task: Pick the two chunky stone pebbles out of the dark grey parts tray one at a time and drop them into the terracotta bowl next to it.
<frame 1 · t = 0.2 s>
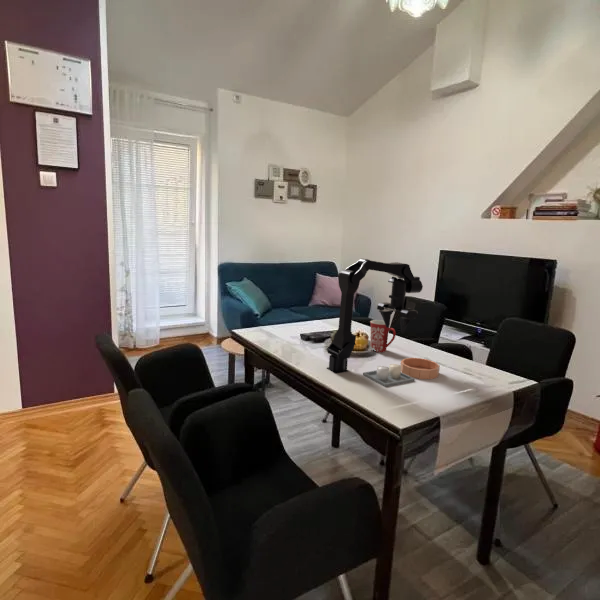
hand: (395, 330, 175), 14 cm above the table, tool pointing down, fingers open, 9 cm apart
pebble grey: (382, 379, 156), resting on parts tray
pebble sand: (394, 376, 159), resting on parts tray
parts tray: (388, 379, 158), on the table
bowl: (419, 373, 166), on the table
mug: (381, 351, 193), on the table
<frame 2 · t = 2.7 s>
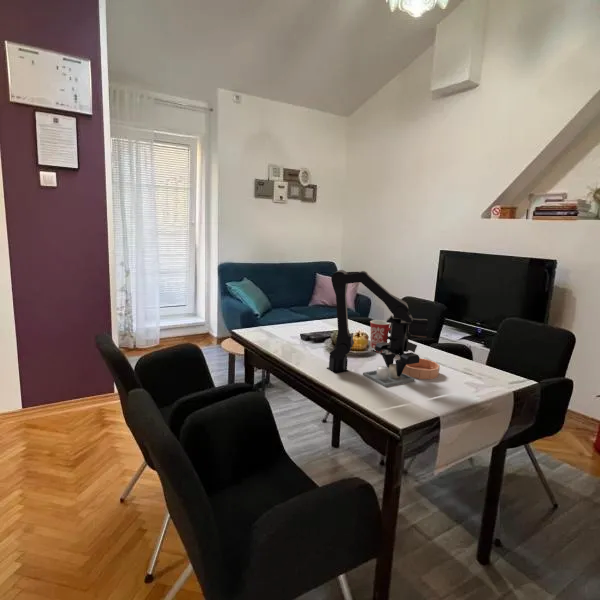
hand: (394, 374, 159), 2 cm above the table, tool pointing down, fingers closed on pebble sand, 4 cm apart
pebble sand: (394, 376, 159), point 1 cm above the table, touching gripper, parts tray
everything else where it was.
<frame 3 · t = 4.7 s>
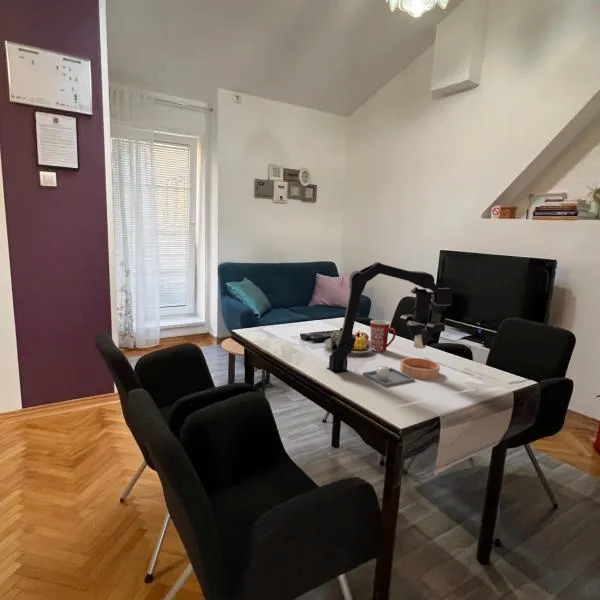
hand: (419, 344, 162), 12 cm above the table, tool pointing down, fingers closed on pebble sand, 4 cm apart
pebble sand: (419, 346, 163), point 11 cm above the table, touching gripper
everything else where it was.
when the fingers open (4 cm above the table, at t = 6.7 s): pebble sand drops 3 cm, resting on bowl.
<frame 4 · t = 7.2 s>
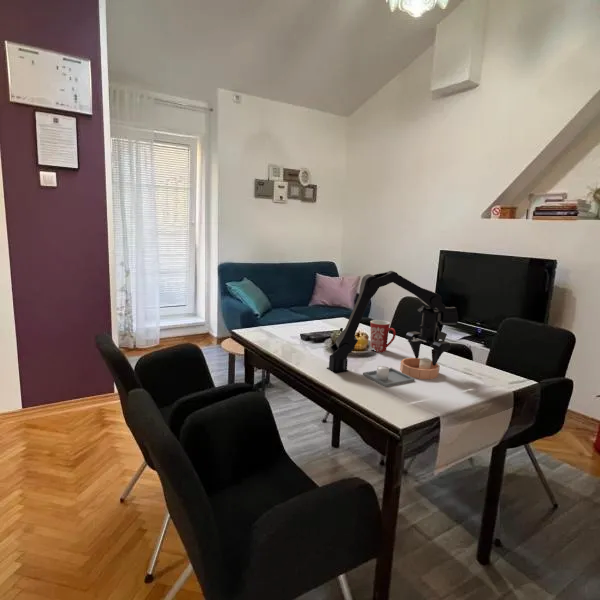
hand: (425, 361, 166), 4 cm above the table, tool pointing down, fingers open, 9 cm apart
pebble sand: (424, 370, 167), point 1 cm above the table, touching bowl
everything else where it was.
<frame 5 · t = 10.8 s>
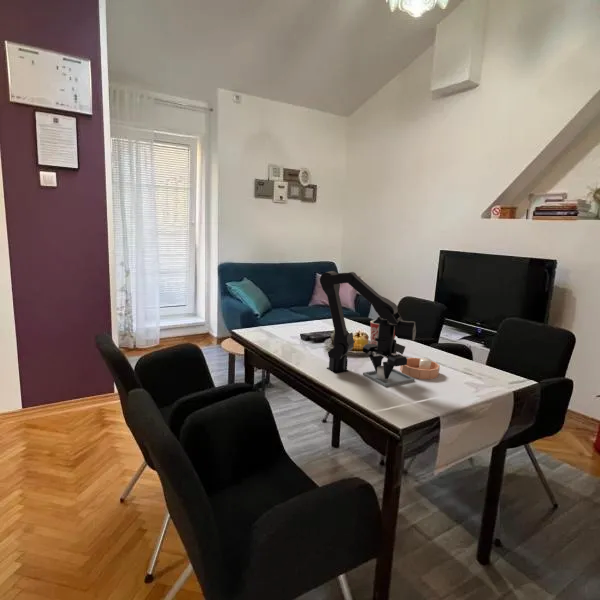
hand: (382, 376, 156), 2 cm above the table, tool pointing down, fingers closed on pebble grey, 4 cm apart
pebble grey: (382, 379, 156), resting on parts tray, touching gripper
everything else where it was.
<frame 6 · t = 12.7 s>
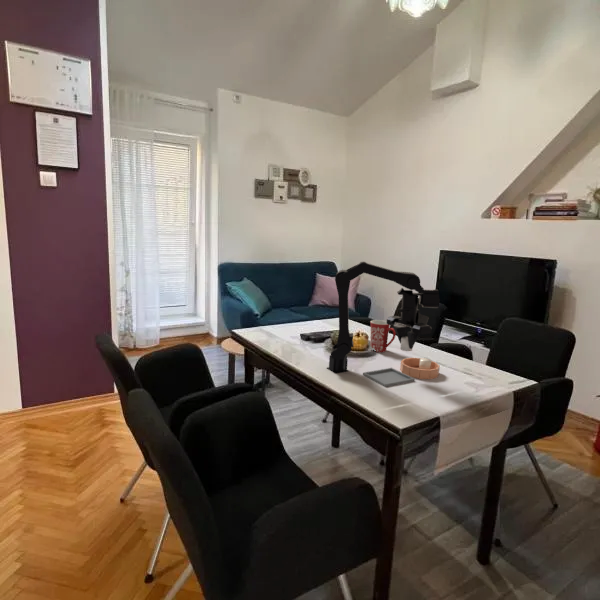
hand: (406, 346, 159), 12 cm above the table, tool pointing down, fingers closed on pebble grey, 4 cm apart
pebble grey: (406, 349, 159), point 11 cm above the table, touching gripper
everything else where it was.
when the fingers open (4 cm above the table, at t = 14.8 s): pebble grey drops 3 cm, resting on bowl.
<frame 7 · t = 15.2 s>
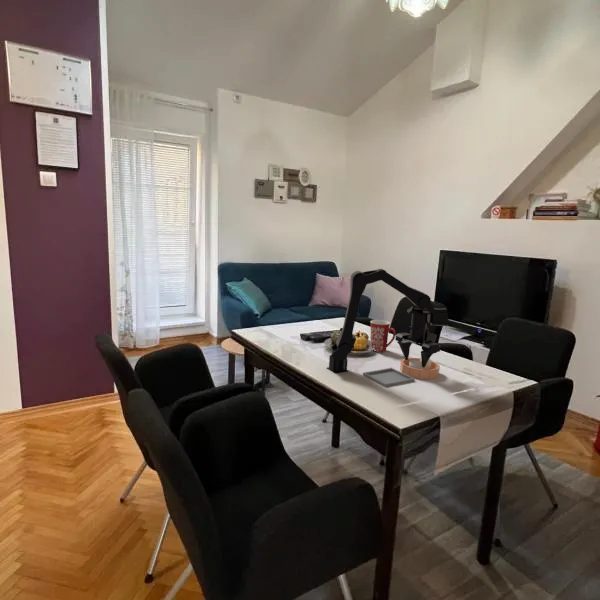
hand: (414, 363, 164), 4 cm above the table, tool pointing down, fingers open, 9 cm apart
pebble grey: (414, 372, 164), point 1 cm above the table, touching bowl
everything else where it was.
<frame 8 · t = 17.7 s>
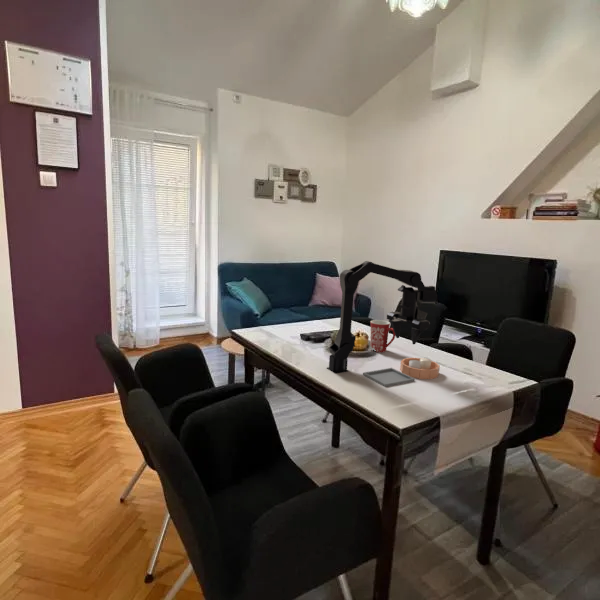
hand: (405, 341, 167), 12 cm above the table, tool pointing down, fingers open, 9 cm apart
nothing on the table moved.
at the end: pebble sand inside the target area on the bowl (2.8 cm from its centre), point 0.8 cm above the bowl's base; pebble grey inside the target area on the bowl (2.8 cm from its centre), point 0.8 cm above the bowl's base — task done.
